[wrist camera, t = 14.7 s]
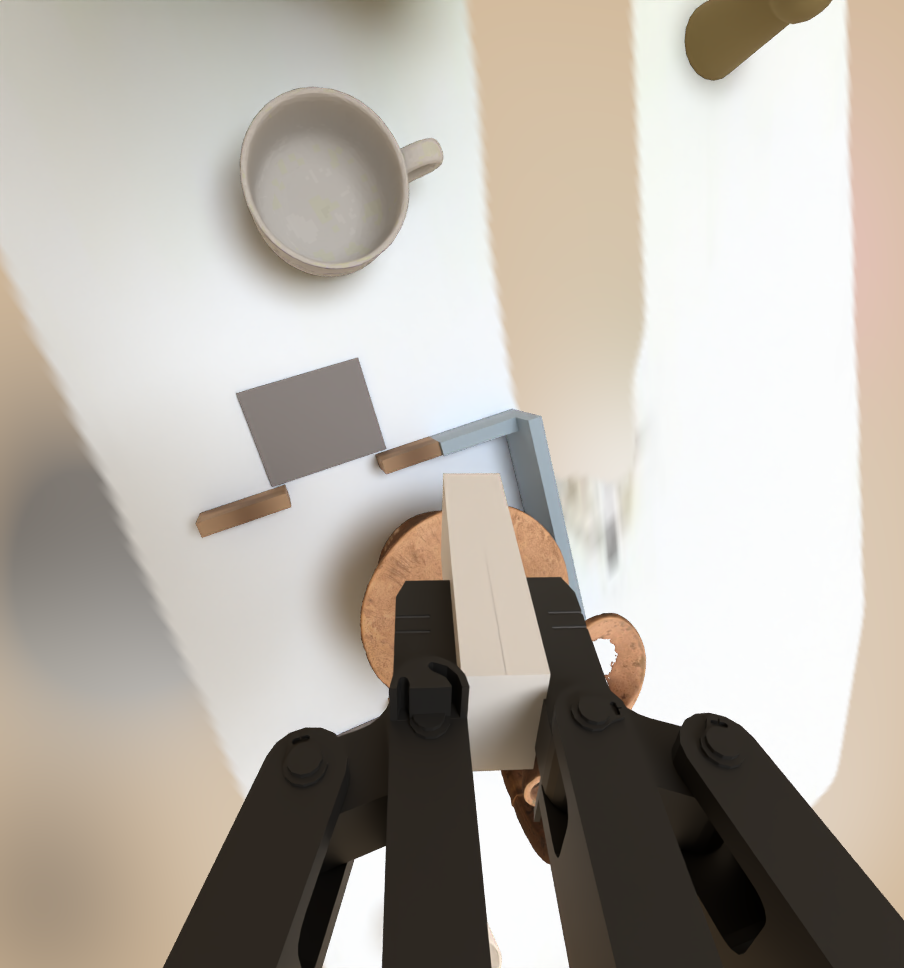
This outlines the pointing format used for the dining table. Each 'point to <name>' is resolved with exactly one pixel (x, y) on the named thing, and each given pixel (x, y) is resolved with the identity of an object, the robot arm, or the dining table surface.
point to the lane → (280, 498)
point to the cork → (739, 30)
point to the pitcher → (420, 559)
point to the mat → (312, 421)
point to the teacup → (328, 179)
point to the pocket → (522, 470)
